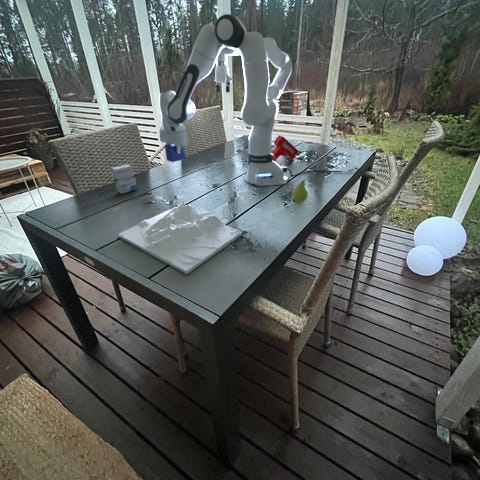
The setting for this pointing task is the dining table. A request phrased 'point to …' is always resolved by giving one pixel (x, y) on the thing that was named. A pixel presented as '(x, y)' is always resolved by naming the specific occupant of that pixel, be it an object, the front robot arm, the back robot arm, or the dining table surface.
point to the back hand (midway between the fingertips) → (223, 92)
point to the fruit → (300, 192)
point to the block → (173, 153)
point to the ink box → (124, 178)
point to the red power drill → (284, 148)
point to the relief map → (181, 237)
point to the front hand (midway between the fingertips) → (174, 152)
